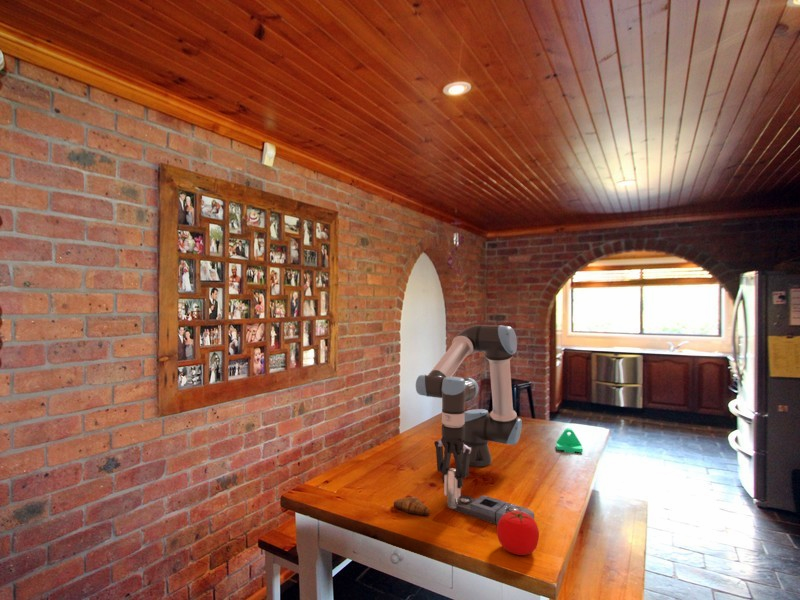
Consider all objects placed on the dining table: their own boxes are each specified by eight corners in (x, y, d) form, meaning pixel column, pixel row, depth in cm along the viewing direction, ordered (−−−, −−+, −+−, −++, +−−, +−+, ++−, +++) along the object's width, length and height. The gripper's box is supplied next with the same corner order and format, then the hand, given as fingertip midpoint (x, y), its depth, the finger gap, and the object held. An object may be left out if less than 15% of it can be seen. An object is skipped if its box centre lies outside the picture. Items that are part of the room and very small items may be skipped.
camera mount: (556, 451, 214) (557, 430, 214) (556, 446, 221) (556, 426, 221) (582, 454, 210) (583, 433, 210) (581, 449, 217) (581, 429, 217)
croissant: (433, 512, 147) (433, 497, 147) (424, 520, 141) (424, 505, 141) (399, 502, 153) (399, 488, 153) (389, 510, 147) (389, 495, 148)
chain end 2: (470, 515, 144) (470, 502, 144) (482, 506, 151) (482, 493, 152) (528, 535, 132) (528, 520, 132) (538, 524, 139) (538, 510, 140)
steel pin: (445, 506, 142) (446, 470, 142) (450, 503, 144) (451, 467, 144) (453, 509, 140) (454, 472, 140) (458, 505, 142) (459, 469, 142)
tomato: (521, 566, 116) (521, 527, 116) (488, 546, 126) (489, 510, 126) (547, 552, 123) (548, 516, 123) (515, 535, 133) (515, 500, 133)
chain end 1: (442, 506, 151) (442, 498, 151) (455, 497, 158) (455, 490, 158) (495, 524, 139) (495, 516, 139) (506, 514, 146) (506, 506, 146)
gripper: (426, 422, 144) (425, 492, 144) (469, 431, 134) (468, 506, 134) (438, 418, 150) (437, 485, 150) (480, 426, 140) (479, 498, 140)
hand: (452, 495), depth 142 cm, fingers closed on steel pin, 3 cm apart
